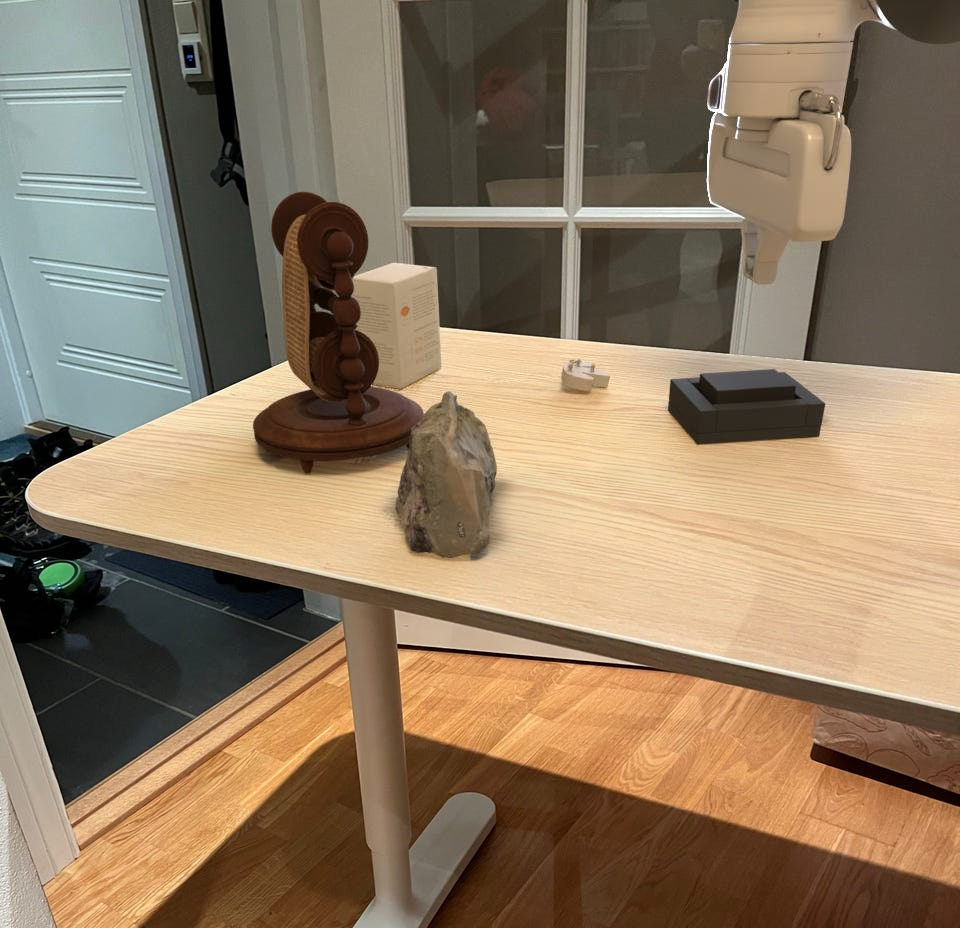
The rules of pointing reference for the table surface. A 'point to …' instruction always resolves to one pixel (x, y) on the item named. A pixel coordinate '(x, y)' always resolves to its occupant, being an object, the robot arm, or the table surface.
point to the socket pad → (744, 415)
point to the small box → (400, 321)
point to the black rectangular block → (745, 386)
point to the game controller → (581, 375)
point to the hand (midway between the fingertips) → (758, 280)
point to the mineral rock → (447, 482)
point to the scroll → (328, 344)
